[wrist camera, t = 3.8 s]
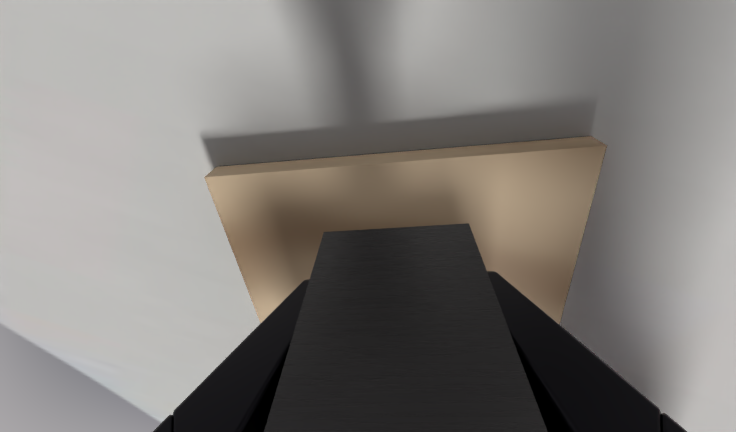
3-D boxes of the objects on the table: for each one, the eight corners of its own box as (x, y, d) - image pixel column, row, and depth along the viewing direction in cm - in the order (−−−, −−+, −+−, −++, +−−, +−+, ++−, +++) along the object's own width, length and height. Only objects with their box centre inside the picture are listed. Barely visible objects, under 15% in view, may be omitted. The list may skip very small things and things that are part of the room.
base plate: (515, 456, 24) (520, 472, 23) (319, 454, 25) (317, 470, 24) (591, 136, 12) (606, 145, 11) (216, 166, 13) (204, 177, 12)
